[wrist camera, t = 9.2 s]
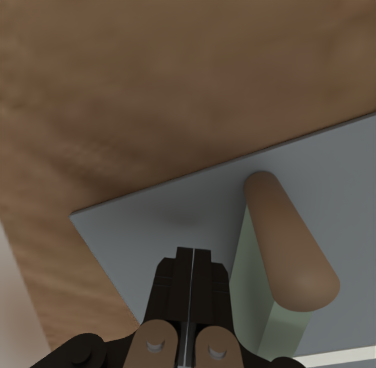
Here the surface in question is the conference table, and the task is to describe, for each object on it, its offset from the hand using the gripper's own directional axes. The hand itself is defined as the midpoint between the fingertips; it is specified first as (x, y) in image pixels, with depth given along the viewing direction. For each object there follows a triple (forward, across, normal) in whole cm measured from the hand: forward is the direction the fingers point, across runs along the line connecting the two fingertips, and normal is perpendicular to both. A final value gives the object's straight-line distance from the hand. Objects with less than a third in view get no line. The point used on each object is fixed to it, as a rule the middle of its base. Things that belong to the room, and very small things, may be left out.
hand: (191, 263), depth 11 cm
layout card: (+4, -7, +7) cm, 11 cm away
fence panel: (+3, -3, +4) cm, 6 cm away
